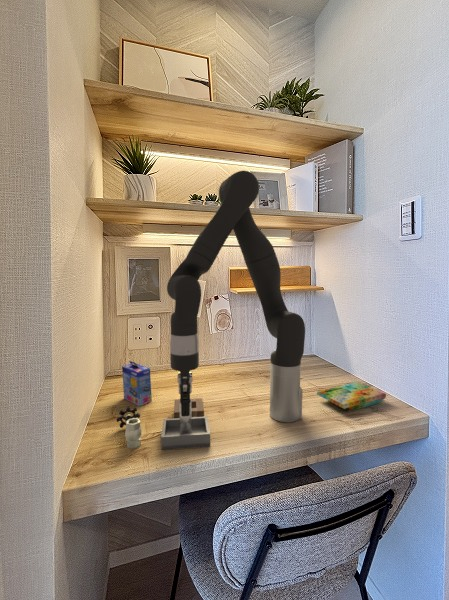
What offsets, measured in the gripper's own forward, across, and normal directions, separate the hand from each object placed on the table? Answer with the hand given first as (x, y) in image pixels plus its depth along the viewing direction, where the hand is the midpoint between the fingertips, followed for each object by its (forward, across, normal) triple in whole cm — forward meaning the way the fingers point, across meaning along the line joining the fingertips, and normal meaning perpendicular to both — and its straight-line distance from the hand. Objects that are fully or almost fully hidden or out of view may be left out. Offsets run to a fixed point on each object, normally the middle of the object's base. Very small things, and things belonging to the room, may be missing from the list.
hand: (185, 411), depth 84 cm
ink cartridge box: (+8, +27, +17) cm, 33 cm away
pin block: (+8, +12, -1) cm, 14 cm away
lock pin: (+7, 0, 0) cm, 7 cm away
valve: (+8, +3, +15) cm, 17 cm away
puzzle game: (+8, +15, -57) cm, 60 cm away
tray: (+8, 0, 0) cm, 8 cm away
